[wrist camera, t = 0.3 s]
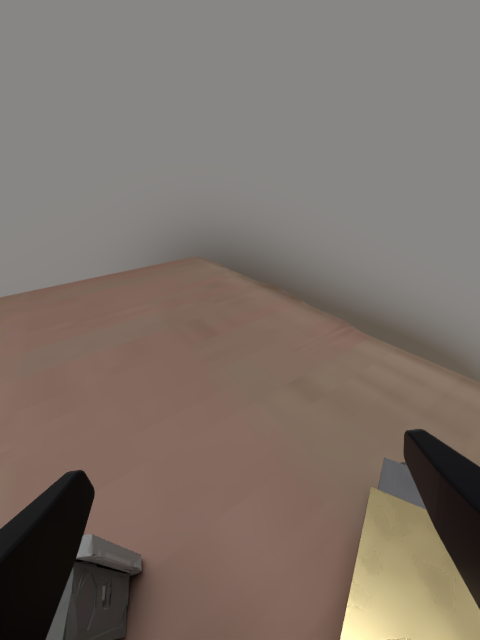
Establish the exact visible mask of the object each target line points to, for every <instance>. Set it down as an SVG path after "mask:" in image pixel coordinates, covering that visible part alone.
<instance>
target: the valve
mask: <svg viewBox="0 0 480 640" xmlns="http://www.w3.org/2000/svg"><path fill="white" fill-rule="evenodd" d="M340 640H480V610H479V608H478V606H477V604H476V603H475V601H474V599H473V597H472V595H471V593H470V592H469V590H468V588H467V586H466V584H465V583H464V581H463V579H462V577H461V575H460V574H459V572H458V570H457V568H456V566H455V564H454V563H453V561H452V559H451V557H450V555H449V554H448V552H447V550H446V548H445V546H444V545H443V543H442V541H441V539H440V537H439V535H438V533H437V531H436V530H435V528H434V526H433V523H432V521H431V519H430V517H429V515H428V512H427V510H426V508H425V505H424V503H423V501H422V499H421V496H420V494H419V492H418V489H417V487H416V485H415V482H414V480H413V478H412V476H411V473H410V471H409V469H408V466H407V464H406V462H403V463H398V462H395V461H392V460H390V459H387V458H384V461H383V466H382V471H381V476H380V481H379V486H378V489H375V488H373V487H371V490H370V495H369V500H368V505H367V510H366V515H365V520H364V525H363V530H362V535H361V540H360V545H359V550H358V555H357V559H356V564H355V569H354V574H353V579H352V584H351V589H350V594H349V599H348V604H347V609H346V614H345V619H344V624H343V629H342V634H341V639H340Z"/></svg>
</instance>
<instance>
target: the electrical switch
mask: <svg viewBox="0 0 480 640" xmlns="http://www.w3.org/2000/svg"><path fill="white" fill-rule="evenodd" d="M141 571H142V567H141V555H140V554H138V553H135V552H133V551H131V550H128V549H126V548H123V547H121V546H119V545H116V544H114V543H112V542H109V541H107V540H104V539H102V538H100V537H97V536H95V535H92V534H91V535H83V538H82V541H81V545H80V548H79V551H78V554H77V558H76V560H75V563H74V566H73V569H72V572H71V574H70V577H69V579H68V582H67V585H66V587H65V590H64V593H63V595H62V598H61V601H60V603H59V606H58V609H57V611H56V614H55V617H54V619H53V622H52V625H51V627H50V630H49V633H48V635H47V638H46V640H115V639H119V638H123V637H126V609H127V606H128V598H129V578H130V576H132V575H135V574H138V573H139V572H141Z"/></svg>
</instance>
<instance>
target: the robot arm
mask: <svg viewBox="0 0 480 640" xmlns="http://www.w3.org/2000/svg"><path fill="white" fill-rule="evenodd" d="M404 458H405V462H406V464H407V466H408V469H409V471H410V473H411V476H412V478H413V480H414V482H415V485H416V487H417V489H418V492H419V494H420V496H421V499H422V501H423V503H424V505H425V508H426V510H427V512H428V515H429V517H430V519H431V521H432V523H433V526H434V528H435V530H436V531H437V533H438V535H439V537H440V539H441V541H442V543H443V545H444V546H445V548H446V550H447V552H448V554H449V555H450V557H451V559H452V561H453V563H454V564H455V566H456V568H457V570H458V572H459V574H460V575H461V577H462V579H463V581H464V583H465V584H466V586H467V588H468V590H469V592H470V593H471V595H472V597H473V599H474V601H475V603H476V604H477V606H478V608H479V610H480V467H479V466H478V465H476V464H475V463H473V462H472V461H470V460H469V459H467V458H466V457H464V456H463V455H461V454H460V453H458V452H457V451H455V450H454V449H452V448H451V447H449V446H448V445H446V444H445V443H443V442H442V441H440V440H439V439H437V438H436V437H434V436H433V435H431V434H430V433H428V432H427V431H425V430H423V429H415V430H407V431H406V432H405V434H404ZM94 494H95V491H94V487H93V485H92V484H91V482H90V480H89V479H88V477H87V475H86V474H85V472H84V471H82V470H77V471H70V472H67V473H66V474H64V475H63V476H62V477H61V478H60V479H58V480H57V481H56V482H55V483H54V484H53V485H51V486H50V487H49V488H48V489H47V490H46V491H44V492H43V493H42V494H41V495H40V496H39V497H37V498H36V499H35V500H34V501H33V502H32V503H30V504H29V505H28V506H27V507H26V508H25V509H23V510H22V511H21V512H20V513H19V514H17V515H16V516H15V517H14V518H13V519H12V520H10V521H9V522H8V523H7V524H6V525H5V526H3V527H2V528H1V529H0V640H46V638H47V635H48V633H49V630H50V627H51V625H52V622H53V619H54V617H55V614H56V611H57V609H58V606H59V603H60V601H61V598H62V595H63V593H64V590H65V587H66V585H67V582H68V579H69V577H70V574H71V572H72V569H73V566H74V563H75V560H76V558H77V554H78V551H79V548H80V545H81V541H82V538H83V534H84V531H85V527H86V524H87V520H88V517H89V513H90V510H91V506H92V503H93V499H94Z"/></svg>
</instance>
